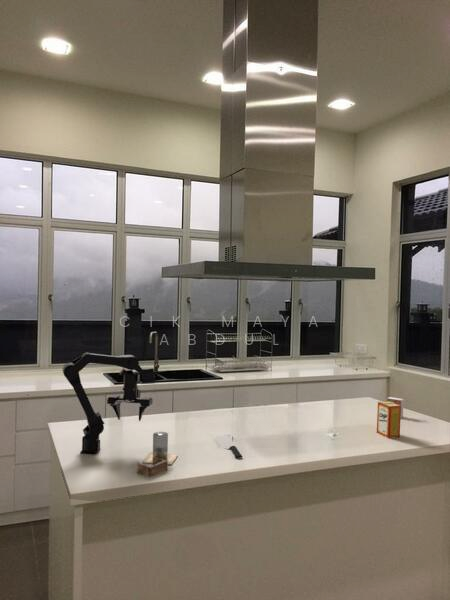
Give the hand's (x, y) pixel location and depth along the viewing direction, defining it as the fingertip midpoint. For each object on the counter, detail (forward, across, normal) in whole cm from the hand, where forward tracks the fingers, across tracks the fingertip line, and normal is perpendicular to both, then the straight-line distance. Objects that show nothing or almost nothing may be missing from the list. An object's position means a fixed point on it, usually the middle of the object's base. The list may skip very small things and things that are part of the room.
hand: (129, 420), depth 213 cm
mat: (+12, -17, +11) cm, 24 cm away
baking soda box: (+12, -118, -47) cm, 128 cm away
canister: (+12, -17, +11) cm, 23 cm away
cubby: (+12, -17, +24) cm, 32 cm away
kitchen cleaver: (+13, -42, -11) cm, 45 cm away
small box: (+12, -129, -85) cm, 155 cm away
